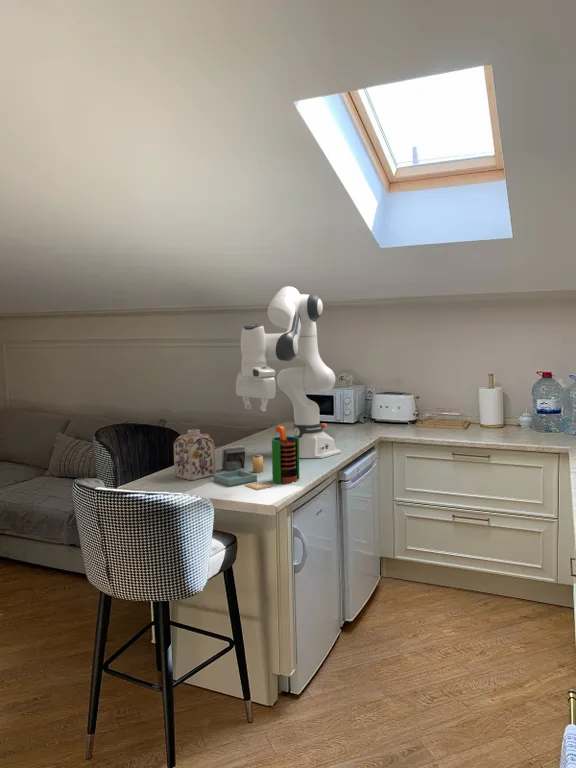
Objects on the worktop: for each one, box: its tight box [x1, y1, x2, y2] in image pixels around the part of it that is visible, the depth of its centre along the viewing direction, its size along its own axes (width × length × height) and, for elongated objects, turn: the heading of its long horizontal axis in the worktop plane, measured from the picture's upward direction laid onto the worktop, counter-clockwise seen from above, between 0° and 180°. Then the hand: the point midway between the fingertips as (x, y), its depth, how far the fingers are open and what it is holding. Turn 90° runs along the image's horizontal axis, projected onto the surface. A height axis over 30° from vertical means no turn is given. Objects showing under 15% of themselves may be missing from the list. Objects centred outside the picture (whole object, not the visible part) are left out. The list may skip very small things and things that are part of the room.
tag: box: [244, 481, 272, 491], centre depth 212 cm, size 6×8×1 cm
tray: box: [213, 469, 258, 488], centre depth 220 cm, size 12×12×2 cm
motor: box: [271, 425, 300, 485], centre depth 218 cm, size 10×9×20 cm
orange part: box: [252, 454, 264, 474], centre depth 234 cm, size 4×4×7 cm
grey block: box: [226, 461, 242, 472], centre depth 230 cm, size 4×4×5 cm
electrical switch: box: [221, 445, 246, 471], centre depth 240 cm, size 9×5×9 cm, turn 113°
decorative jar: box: [173, 429, 217, 482], centre depth 230 cm, size 12×12×18 cm
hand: (255, 410), depth 210 cm, fingers open, 8 cm apart
